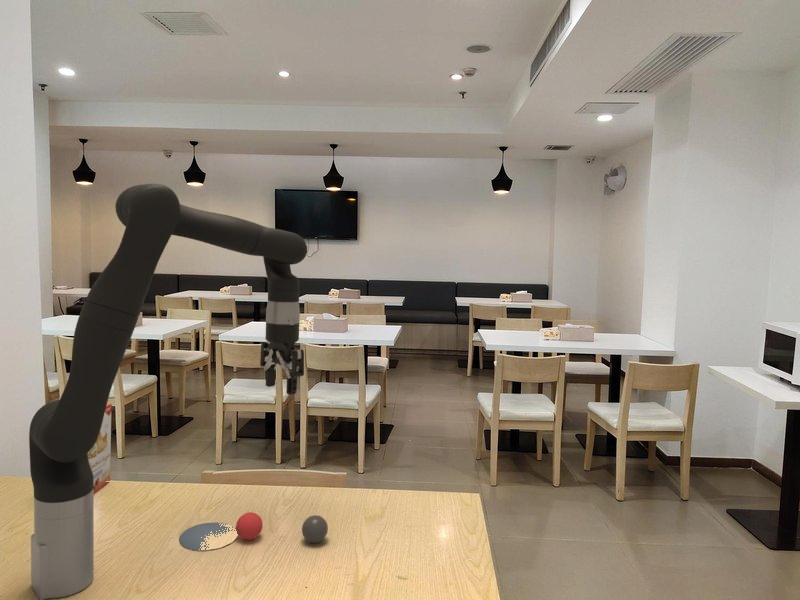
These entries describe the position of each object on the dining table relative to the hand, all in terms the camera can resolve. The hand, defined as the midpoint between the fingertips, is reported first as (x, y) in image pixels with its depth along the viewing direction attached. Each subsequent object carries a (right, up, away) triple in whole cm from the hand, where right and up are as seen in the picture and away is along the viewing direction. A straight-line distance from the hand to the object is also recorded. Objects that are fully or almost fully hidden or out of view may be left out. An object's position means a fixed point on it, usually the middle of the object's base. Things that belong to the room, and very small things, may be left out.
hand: (280, 390), depth 135 cm
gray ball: (+9, -28, -10) cm, 31 cm away
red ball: (-5, -27, -10) cm, 30 cm away
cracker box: (-49, -27, +8) cm, 57 cm away
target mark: (-13, -30, -10) cm, 34 cm away
